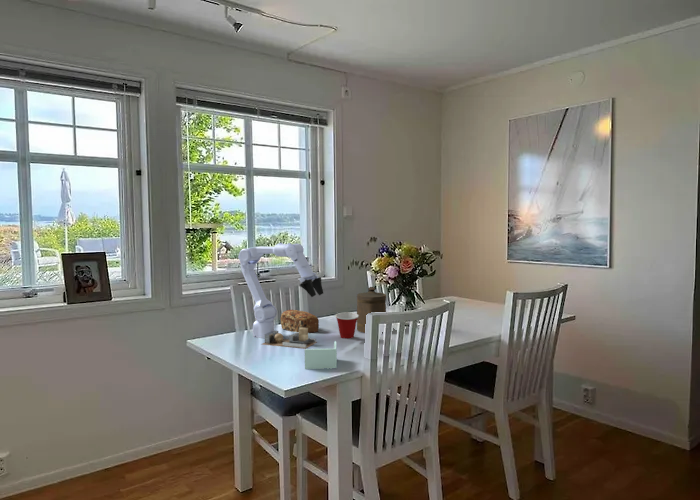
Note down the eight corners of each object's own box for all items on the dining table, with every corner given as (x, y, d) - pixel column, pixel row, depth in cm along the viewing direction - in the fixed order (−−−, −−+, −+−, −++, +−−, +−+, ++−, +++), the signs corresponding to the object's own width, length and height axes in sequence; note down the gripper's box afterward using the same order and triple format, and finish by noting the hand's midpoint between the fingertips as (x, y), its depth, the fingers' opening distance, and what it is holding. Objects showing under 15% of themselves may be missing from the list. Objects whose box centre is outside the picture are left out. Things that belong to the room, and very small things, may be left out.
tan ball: (272, 342, 221) (272, 333, 220) (277, 340, 224) (277, 331, 224) (280, 343, 219) (280, 334, 219) (285, 341, 223) (284, 332, 223)
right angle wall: (336, 359, 200) (336, 341, 199) (336, 368, 188) (336, 349, 187) (306, 360, 200) (306, 341, 199) (304, 369, 188) (304, 349, 187)
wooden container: (391, 328, 252) (391, 285, 251) (377, 334, 240) (377, 289, 238) (366, 325, 260) (365, 284, 259) (351, 331, 248) (350, 287, 246)
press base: (260, 347, 219) (260, 335, 218) (274, 341, 230) (274, 329, 229) (305, 352, 210) (305, 339, 210) (317, 345, 222) (317, 333, 221)
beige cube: (289, 345, 216) (289, 329, 216) (296, 341, 222) (296, 326, 222) (303, 346, 214) (302, 330, 213) (310, 342, 220) (309, 327, 219)
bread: (280, 329, 254) (279, 310, 253) (296, 326, 261) (296, 307, 260) (303, 335, 240) (303, 315, 240) (320, 331, 248) (319, 312, 247)
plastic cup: (338, 343, 224) (338, 317, 223) (333, 338, 234) (332, 313, 233) (361, 342, 227) (361, 316, 226) (355, 336, 237) (354, 311, 236)
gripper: (303, 264, 212) (317, 292, 209) (317, 263, 225) (331, 289, 223) (290, 272, 214) (304, 300, 212) (306, 270, 228) (319, 296, 225)
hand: (317, 295), depth 218 cm, fingers open, 7 cm apart
